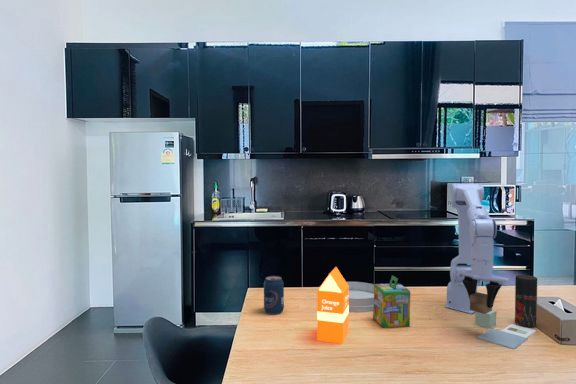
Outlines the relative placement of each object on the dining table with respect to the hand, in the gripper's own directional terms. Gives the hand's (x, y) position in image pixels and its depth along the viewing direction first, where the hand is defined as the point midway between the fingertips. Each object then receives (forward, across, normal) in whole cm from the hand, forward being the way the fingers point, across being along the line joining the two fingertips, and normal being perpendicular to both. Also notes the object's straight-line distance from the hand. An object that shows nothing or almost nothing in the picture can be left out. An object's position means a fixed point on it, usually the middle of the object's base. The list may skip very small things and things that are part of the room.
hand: (481, 304), depth 121 cm
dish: (+9, -44, -5) cm, 46 cm away
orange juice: (+9, -28, -34) cm, 45 cm away
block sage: (+9, -3, +9) cm, 13 cm away
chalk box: (+9, -23, -12) cm, 28 cm away
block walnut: (+2, 0, 0) cm, 2 cm away
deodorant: (+9, +6, +19) cm, 22 cm away
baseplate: (+9, +5, +2) cm, 11 cm away
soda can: (+9, -56, -34) cm, 66 cm away
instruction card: (+9, +6, +11) cm, 15 cm away
